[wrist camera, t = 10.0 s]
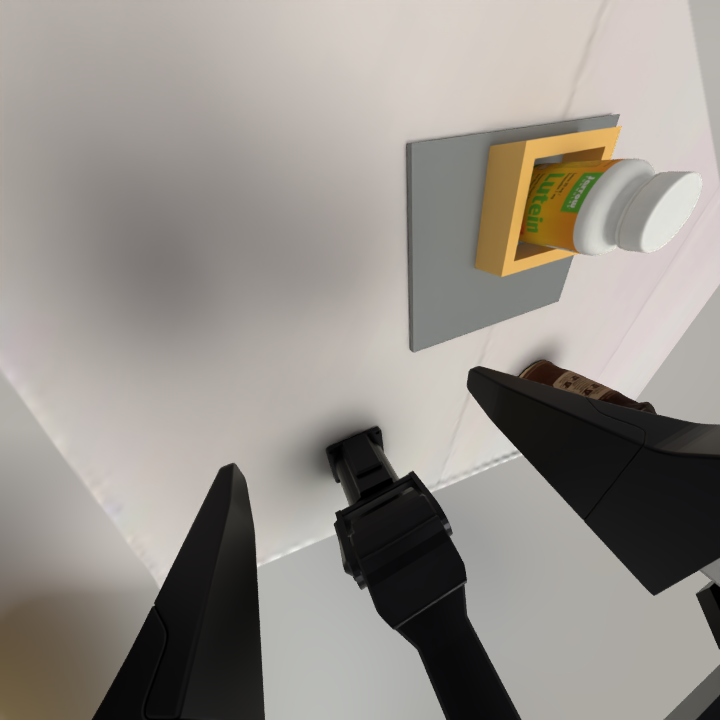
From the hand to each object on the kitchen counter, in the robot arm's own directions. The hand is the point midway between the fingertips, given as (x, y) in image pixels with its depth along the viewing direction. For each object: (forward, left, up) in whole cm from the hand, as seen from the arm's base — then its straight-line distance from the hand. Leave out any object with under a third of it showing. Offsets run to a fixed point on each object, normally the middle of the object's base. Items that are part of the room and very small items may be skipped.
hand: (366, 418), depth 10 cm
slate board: (0, -19, -13) cm, 23 cm away
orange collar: (+3, -20, -12) cm, 24 cm away
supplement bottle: (+3, -20, -13) cm, 24 cm away
